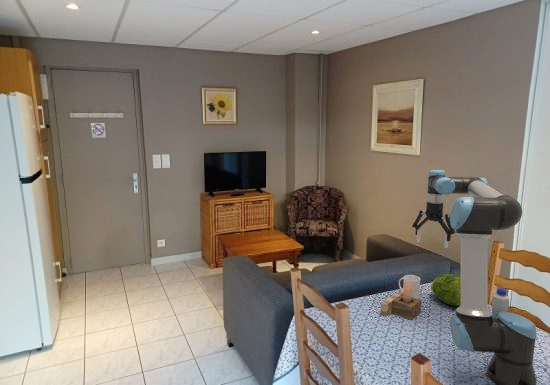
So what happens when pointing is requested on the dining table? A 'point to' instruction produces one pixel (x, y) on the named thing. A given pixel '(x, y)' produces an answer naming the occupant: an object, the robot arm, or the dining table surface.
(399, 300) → the block
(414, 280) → the mug
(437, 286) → the lettuce
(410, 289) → the dowel
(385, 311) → the backstop
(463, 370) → the dining table surface
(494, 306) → the bottle
